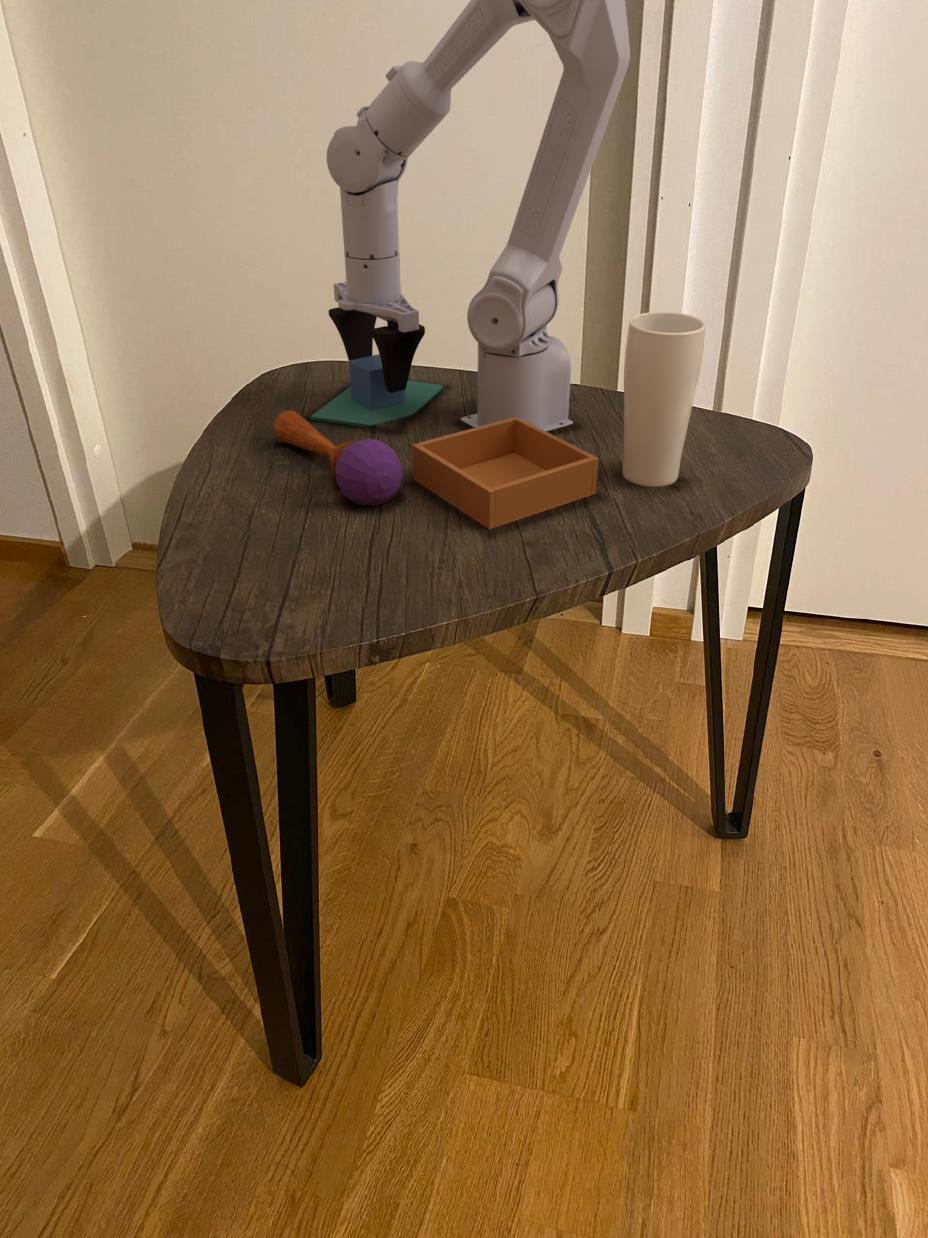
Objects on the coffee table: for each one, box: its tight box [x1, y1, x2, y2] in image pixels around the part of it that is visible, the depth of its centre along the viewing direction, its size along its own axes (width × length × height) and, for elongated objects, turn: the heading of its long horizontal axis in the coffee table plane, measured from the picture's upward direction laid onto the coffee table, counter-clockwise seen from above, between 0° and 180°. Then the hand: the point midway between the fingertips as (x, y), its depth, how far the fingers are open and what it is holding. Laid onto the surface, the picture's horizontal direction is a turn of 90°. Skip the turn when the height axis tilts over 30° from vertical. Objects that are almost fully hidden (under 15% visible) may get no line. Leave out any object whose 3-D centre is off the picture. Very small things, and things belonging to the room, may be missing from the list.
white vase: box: [621, 311, 706, 488], centre depth 90 cm, size 7×7×15 cm
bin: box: [412, 417, 599, 530], centre depth 91 cm, size 12×12×4 cm
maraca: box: [272, 410, 404, 507], centre depth 93 cm, size 6×6×20 cm
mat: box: [310, 380, 444, 428], centre depth 110 cm, size 14×10×1 cm
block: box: [348, 353, 405, 410], centre depth 109 cm, size 4×4×4 cm
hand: (378, 380), depth 109 cm, fingers open, 7 cm apart
